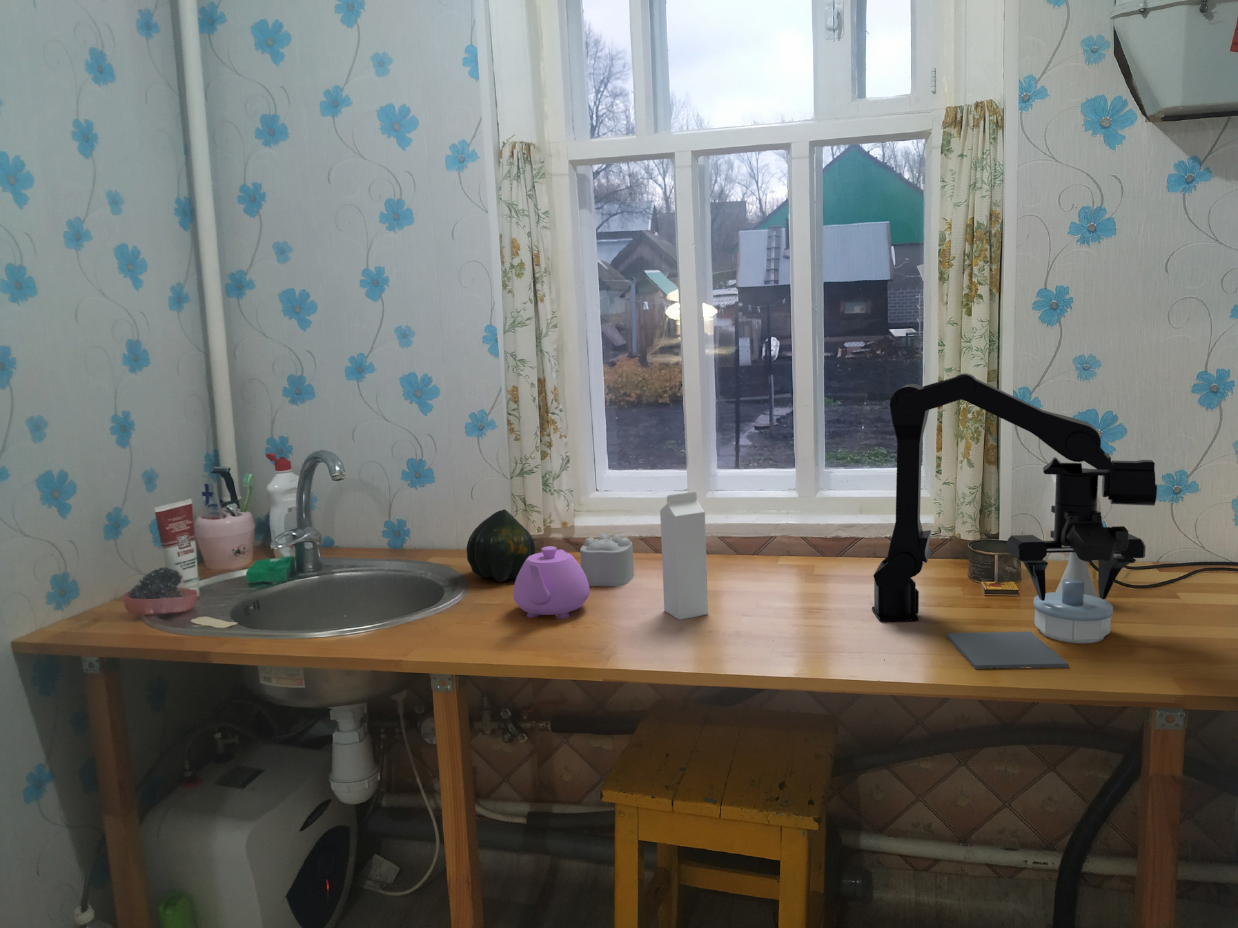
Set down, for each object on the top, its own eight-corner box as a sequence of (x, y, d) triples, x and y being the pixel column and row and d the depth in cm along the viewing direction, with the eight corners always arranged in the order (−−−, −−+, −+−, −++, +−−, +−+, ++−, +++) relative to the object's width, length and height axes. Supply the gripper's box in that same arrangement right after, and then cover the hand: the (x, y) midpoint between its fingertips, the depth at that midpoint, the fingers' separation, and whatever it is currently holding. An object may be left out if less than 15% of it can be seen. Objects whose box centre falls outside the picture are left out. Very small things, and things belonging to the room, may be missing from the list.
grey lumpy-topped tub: (577, 585, 170) (575, 544, 169) (593, 568, 182) (590, 529, 181) (626, 586, 168) (624, 545, 166) (639, 568, 180) (637, 529, 179)
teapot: (573, 632, 143) (569, 564, 141) (495, 629, 146) (491, 563, 144) (601, 596, 162) (598, 535, 160) (532, 594, 165) (528, 535, 163)
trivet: (975, 669, 120) (975, 665, 120) (946, 636, 133) (946, 633, 132) (1068, 667, 119) (1068, 663, 119) (1030, 634, 132) (1030, 631, 131)
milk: (708, 614, 149) (705, 494, 145) (678, 620, 146) (674, 498, 143) (692, 605, 154) (688, 488, 151) (663, 610, 152) (659, 492, 148)
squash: (468, 567, 167) (509, 505, 171) (445, 555, 180) (483, 498, 184) (520, 602, 173) (559, 542, 177) (494, 588, 186) (531, 532, 190)
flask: (1105, 607, 142) (1108, 551, 141) (1060, 606, 144) (1062, 550, 142) (1091, 594, 149) (1093, 540, 148) (1047, 593, 151) (1049, 540, 149)
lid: (1051, 621, 126) (1052, 593, 125) (1022, 598, 137) (1022, 572, 136) (1127, 619, 125) (1128, 591, 124) (1091, 597, 136) (1092, 570, 135)
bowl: (1053, 644, 127) (1054, 620, 127) (1026, 623, 137) (1027, 599, 136) (1119, 643, 126) (1120, 618, 126) (1088, 621, 136) (1089, 598, 135)
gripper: (1035, 515, 121) (1032, 617, 124) (1169, 511, 120) (1163, 615, 122) (1006, 500, 132) (1003, 594, 135) (1127, 496, 131) (1123, 591, 133)
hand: (1072, 599), depth 131 cm, fingers open, 9 cm apart
